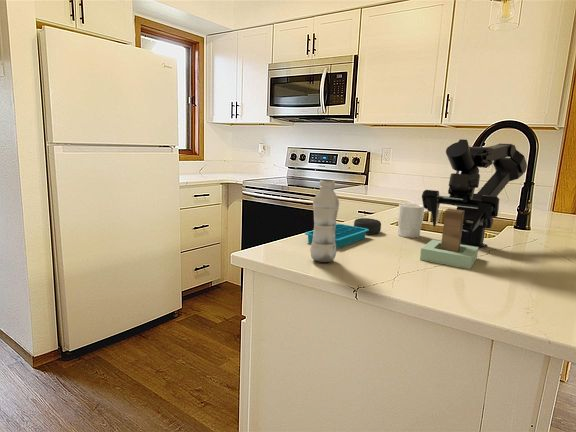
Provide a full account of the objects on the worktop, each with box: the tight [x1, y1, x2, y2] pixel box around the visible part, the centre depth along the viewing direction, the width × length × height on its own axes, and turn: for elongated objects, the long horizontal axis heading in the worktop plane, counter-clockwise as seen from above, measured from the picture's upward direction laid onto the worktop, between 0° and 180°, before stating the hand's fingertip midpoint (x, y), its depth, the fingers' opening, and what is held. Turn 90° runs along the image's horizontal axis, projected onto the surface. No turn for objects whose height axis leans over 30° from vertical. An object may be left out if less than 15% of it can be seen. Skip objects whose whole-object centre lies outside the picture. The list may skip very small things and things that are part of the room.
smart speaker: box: [353, 217, 382, 235], centre depth 131 cm, size 9×9×4 cm
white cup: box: [397, 203, 425, 239], centre depth 128 cm, size 8×8×10 cm
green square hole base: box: [419, 239, 480, 270], centre depth 103 cm, size 12×12×3 cm
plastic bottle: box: [309, 179, 340, 263], centre depth 95 cm, size 6×7×20 cm
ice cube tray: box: [304, 223, 369, 249], centre depth 119 cm, size 12×20×3 cm, turn 142°
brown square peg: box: [441, 208, 465, 253], centre depth 102 cm, size 4×4×13 cm
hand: (452, 228), depth 101 cm, fingers open, 9 cm apart
